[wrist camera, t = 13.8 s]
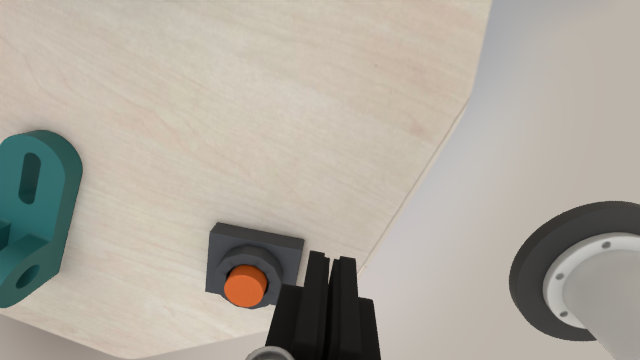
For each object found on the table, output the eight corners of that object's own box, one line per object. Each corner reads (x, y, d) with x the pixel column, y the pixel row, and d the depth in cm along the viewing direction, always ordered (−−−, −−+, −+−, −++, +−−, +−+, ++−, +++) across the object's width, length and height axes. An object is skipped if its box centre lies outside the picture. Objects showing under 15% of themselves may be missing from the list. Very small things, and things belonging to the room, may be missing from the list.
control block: (304, 239, 35) (300, 260, 31) (293, 295, 38) (288, 320, 34) (217, 222, 35) (202, 241, 31) (212, 279, 38) (198, 303, 34)
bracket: (58, 272, 39) (-8, 322, 31) (3, 250, 38) (-77, 294, 30) (88, 148, 33) (14, 173, 25) (23, 118, 32) (-71, 135, 24)
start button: (269, 268, 32) (265, 279, 31) (264, 298, 34) (260, 310, 32) (231, 261, 32) (225, 271, 31) (228, 291, 34) (222, 303, 32)
